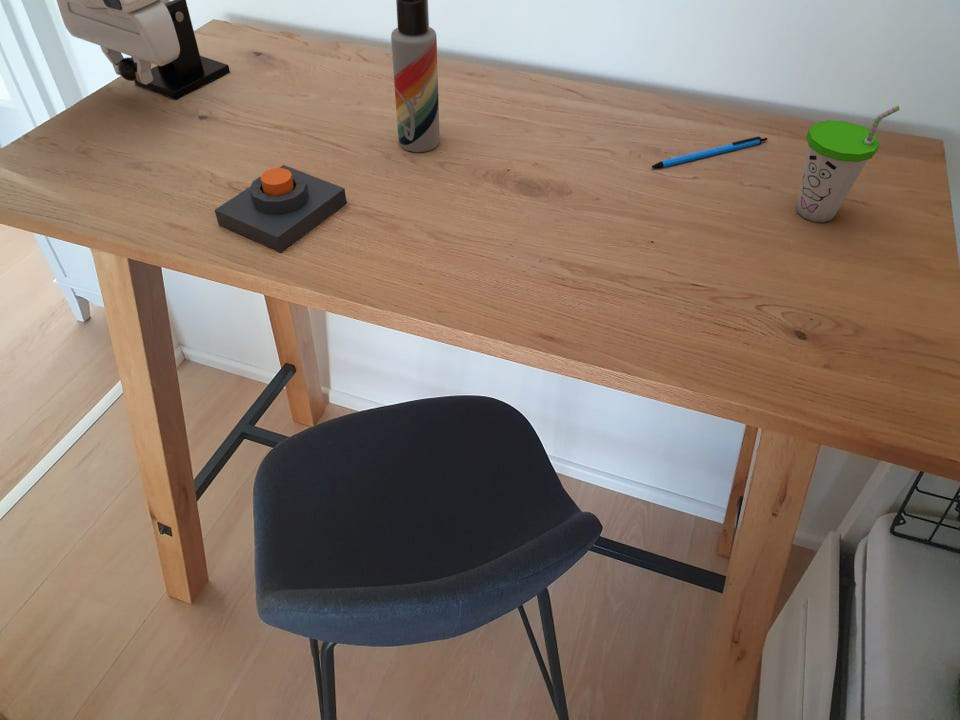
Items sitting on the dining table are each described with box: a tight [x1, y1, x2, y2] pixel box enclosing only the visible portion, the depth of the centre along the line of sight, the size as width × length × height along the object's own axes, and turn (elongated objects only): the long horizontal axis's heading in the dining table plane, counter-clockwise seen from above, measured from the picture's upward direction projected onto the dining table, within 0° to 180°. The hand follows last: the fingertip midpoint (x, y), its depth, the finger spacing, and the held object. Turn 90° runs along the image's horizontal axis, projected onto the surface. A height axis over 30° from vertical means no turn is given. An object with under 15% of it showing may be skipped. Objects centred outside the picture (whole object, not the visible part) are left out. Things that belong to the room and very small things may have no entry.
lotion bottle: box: [390, 0, 440, 153], centre depth 99 cm, size 6×6×20 cm
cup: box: [795, 105, 900, 224], centre depth 90 cm, size 8×8×15 cm
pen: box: [650, 136, 768, 169], centre depth 104 cm, size 1×19×1 cm, turn 114°
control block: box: [214, 164, 348, 253], centre depth 92 cm, size 12×10×4 cm
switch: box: [118, 0, 171, 82], centre depth 111 cm, size 13×3×3 cm
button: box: [260, 167, 294, 196], centre depth 91 cm, size 4×4×2 cm
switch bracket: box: [134, 0, 231, 100], centre depth 115 cm, size 11×9×12 cm
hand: (135, 78), depth 112 cm, fingers closed on switch, 3 cm apart
